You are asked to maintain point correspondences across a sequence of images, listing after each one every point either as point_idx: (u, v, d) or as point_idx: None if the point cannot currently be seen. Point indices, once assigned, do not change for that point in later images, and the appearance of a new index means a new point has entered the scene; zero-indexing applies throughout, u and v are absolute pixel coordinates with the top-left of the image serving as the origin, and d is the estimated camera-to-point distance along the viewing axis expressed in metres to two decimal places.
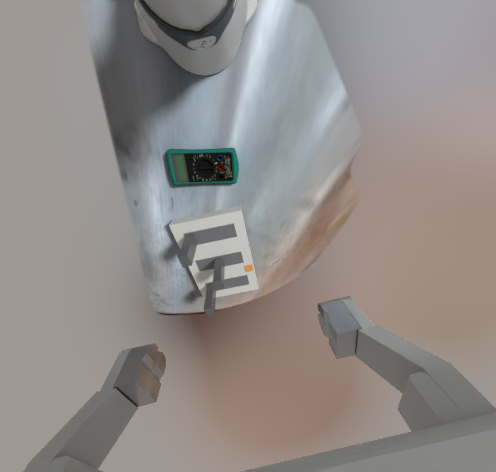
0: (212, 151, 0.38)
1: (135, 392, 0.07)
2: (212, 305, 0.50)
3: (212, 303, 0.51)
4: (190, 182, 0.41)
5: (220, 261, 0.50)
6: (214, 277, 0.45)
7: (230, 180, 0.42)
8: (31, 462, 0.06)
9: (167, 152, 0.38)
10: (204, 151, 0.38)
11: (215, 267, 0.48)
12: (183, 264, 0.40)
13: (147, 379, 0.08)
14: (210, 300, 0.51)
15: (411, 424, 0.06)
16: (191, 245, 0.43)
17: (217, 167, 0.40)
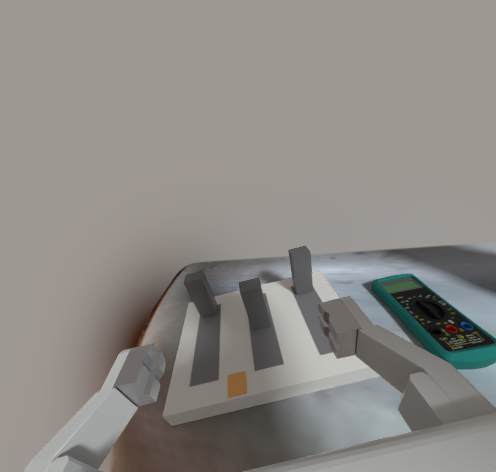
0: (464, 315, 0.26)
1: (135, 392, 0.07)
2: (199, 286, 0.31)
3: (201, 288, 0.31)
4: (390, 294, 0.31)
5: (268, 318, 0.29)
6: None
7: (444, 347, 0.23)
8: (31, 462, 0.06)
9: (410, 274, 0.34)
10: (453, 307, 0.27)
11: None
12: (293, 250, 0.31)
13: (147, 379, 0.08)
14: (206, 288, 0.31)
15: (411, 424, 0.06)
16: (308, 272, 0.32)
17: (446, 324, 0.25)
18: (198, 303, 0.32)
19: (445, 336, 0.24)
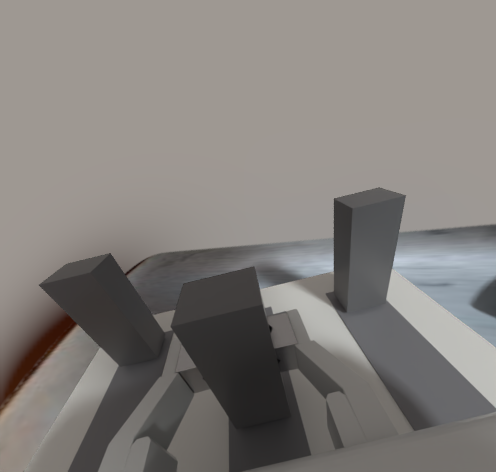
0: None
1: (195, 378, 0.07)
2: (91, 293, 0.11)
3: (99, 299, 0.11)
4: None
5: None
6: (261, 296, 0.08)
7: None
8: (110, 444, 0.06)
9: None
10: None
11: None
12: (348, 197, 0.12)
13: None
14: (118, 298, 0.12)
15: (333, 443, 0.06)
16: (386, 258, 0.12)
17: None
18: (102, 336, 0.13)
19: None
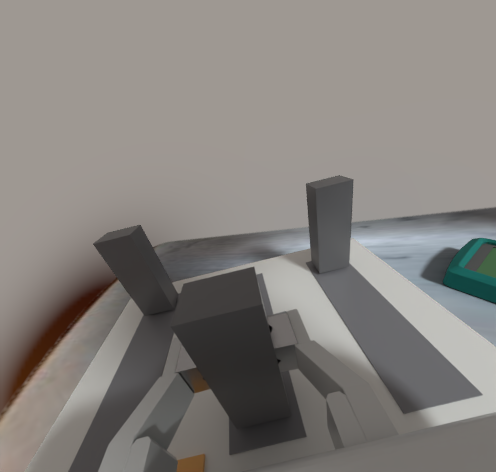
0: None
1: (195, 378, 0.07)
2: (129, 251, 0.15)
3: (133, 256, 0.15)
4: None
5: None
6: None
7: None
8: (110, 443, 0.06)
9: (477, 238, 0.20)
10: None
11: None
12: (316, 182, 0.16)
13: None
14: (146, 257, 0.16)
15: (334, 443, 0.06)
16: (345, 228, 0.16)
17: None
18: (133, 288, 0.17)
19: None
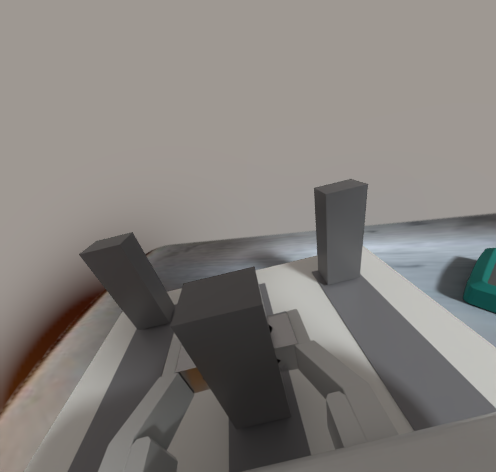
0: None
1: (195, 378, 0.07)
2: (119, 262, 0.14)
3: (124, 268, 0.14)
4: None
5: None
6: (261, 296, 0.08)
7: None
8: (111, 443, 0.06)
9: (491, 248, 0.18)
10: None
11: None
12: (325, 186, 0.14)
13: None
14: (139, 268, 0.15)
15: (333, 443, 0.06)
16: (357, 237, 0.15)
17: None
18: (125, 301, 0.15)
19: None
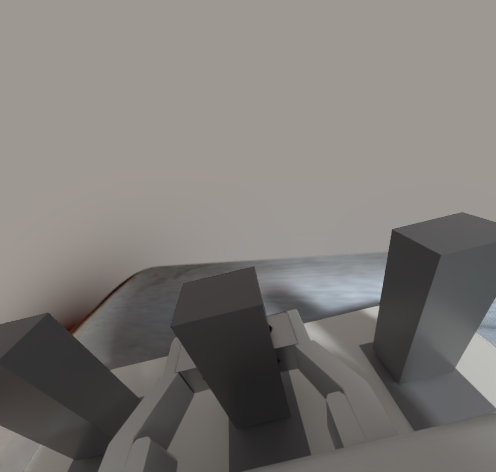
0: None
1: (195, 378, 0.07)
2: (7, 387, 0.07)
3: (22, 394, 0.07)
4: None
5: None
6: None
7: None
8: (111, 443, 0.06)
9: None
10: None
11: None
12: (418, 229, 0.07)
13: None
14: (58, 384, 0.08)
15: (333, 443, 0.06)
16: (472, 321, 0.08)
17: None
18: (40, 433, 0.08)
19: None
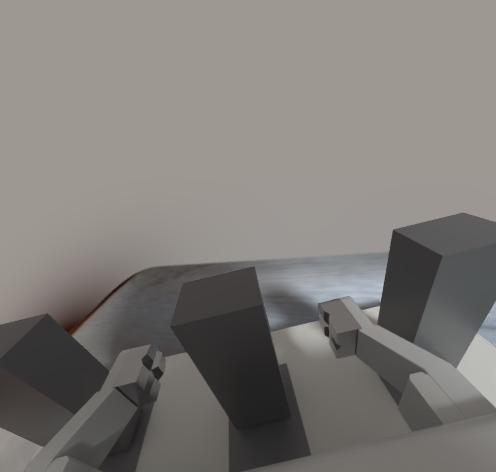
0: None
1: (135, 392, 0.07)
2: (6, 389, 0.07)
3: (21, 395, 0.07)
4: None
5: None
6: (261, 296, 0.08)
7: None
8: (31, 462, 0.06)
9: None
10: None
11: None
12: (419, 229, 0.07)
13: (147, 379, 0.08)
14: (58, 385, 0.08)
15: (411, 424, 0.06)
16: (473, 321, 0.08)
17: None
18: (39, 435, 0.08)
19: None
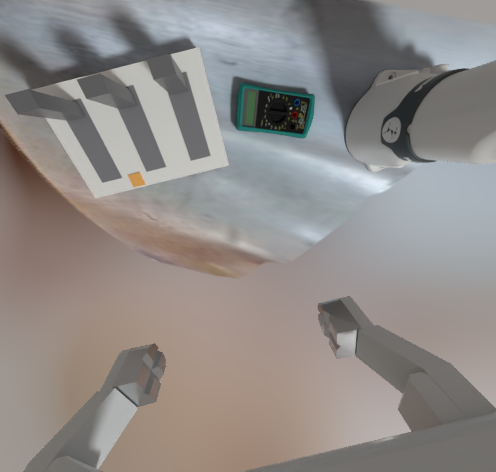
0: (290, 93, 0.34)
1: (135, 392, 0.07)
2: (43, 111, 0.25)
3: (47, 111, 0.25)
4: (257, 128, 0.36)
5: (132, 100, 0.30)
6: (107, 80, 0.24)
7: (300, 132, 0.37)
8: (30, 462, 0.06)
9: (241, 85, 0.33)
10: (282, 91, 0.34)
11: (121, 87, 0.27)
12: (153, 62, 0.23)
13: (147, 379, 0.08)
14: (54, 107, 0.26)
15: (411, 425, 0.06)
16: (179, 84, 0.27)
17: (291, 114, 0.35)
18: (55, 117, 0.28)
19: (296, 124, 0.36)
